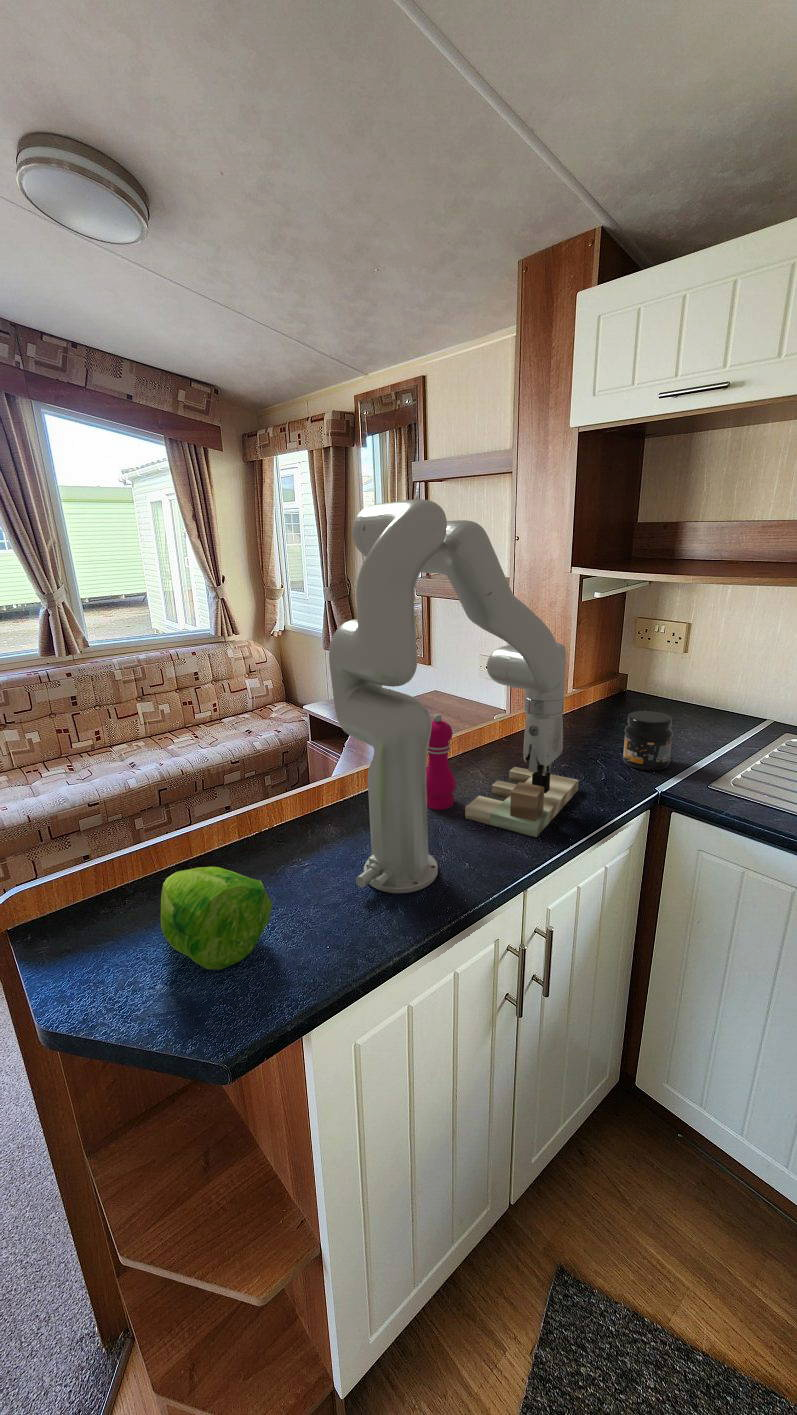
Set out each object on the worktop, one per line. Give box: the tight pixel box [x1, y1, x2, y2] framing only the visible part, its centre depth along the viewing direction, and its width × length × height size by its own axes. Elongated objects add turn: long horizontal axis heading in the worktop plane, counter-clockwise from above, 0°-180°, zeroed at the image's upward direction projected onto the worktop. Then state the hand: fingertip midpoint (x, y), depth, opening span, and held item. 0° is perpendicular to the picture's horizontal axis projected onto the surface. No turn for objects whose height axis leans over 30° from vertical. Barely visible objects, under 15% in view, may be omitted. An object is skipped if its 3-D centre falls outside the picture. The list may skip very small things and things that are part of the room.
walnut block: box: [510, 782, 544, 821], centre depth 110 cm, size 5×5×5 cm
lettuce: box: [160, 866, 274, 971], centre depth 80 cm, size 14×20×12 cm
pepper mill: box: [426, 713, 457, 811], centre depth 119 cm, size 7×7×20 cm
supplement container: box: [622, 710, 674, 772], centre depth 137 cm, size 10×10×12 cm
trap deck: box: [464, 766, 579, 838], centre depth 120 cm, size 24×15×2 cm, turn 145°
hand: (540, 790), depth 117 cm, fingers closed
